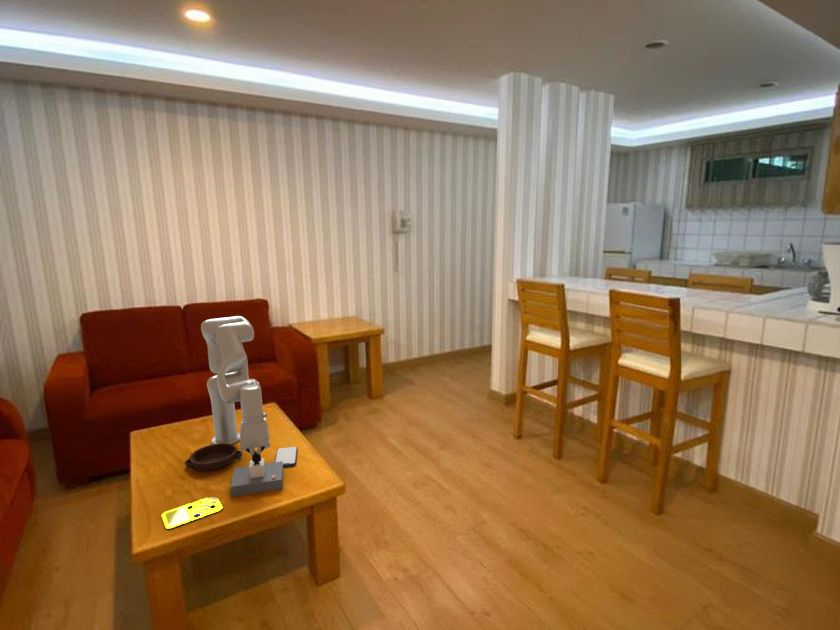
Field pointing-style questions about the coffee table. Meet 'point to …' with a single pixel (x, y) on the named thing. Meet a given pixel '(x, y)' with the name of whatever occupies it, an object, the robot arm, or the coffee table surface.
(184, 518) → the game console
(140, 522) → the coffee table surface
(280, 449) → the smartphone
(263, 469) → the plug
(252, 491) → the socket
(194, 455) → the dish
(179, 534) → the coffee table surface
